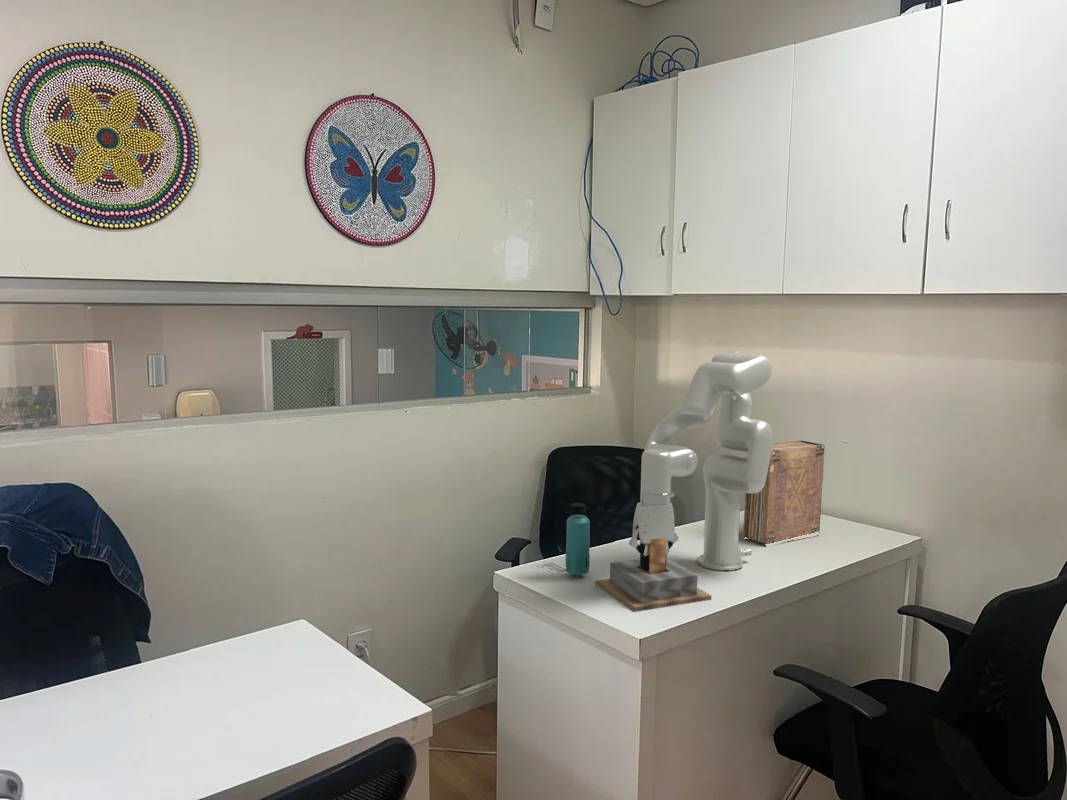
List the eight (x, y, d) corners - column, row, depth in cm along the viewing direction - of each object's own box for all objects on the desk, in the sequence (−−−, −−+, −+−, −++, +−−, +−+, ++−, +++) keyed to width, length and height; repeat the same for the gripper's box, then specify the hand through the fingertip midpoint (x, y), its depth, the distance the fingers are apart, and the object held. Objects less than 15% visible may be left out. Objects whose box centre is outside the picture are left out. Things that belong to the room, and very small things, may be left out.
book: (765, 547, 239) (769, 450, 235) (742, 539, 247) (746, 446, 243) (819, 535, 252) (825, 444, 249) (796, 528, 260) (801, 440, 256)
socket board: (667, 574, 213) (668, 552, 212) (711, 599, 194) (712, 576, 194) (595, 584, 204) (596, 561, 203) (634, 611, 186) (635, 587, 185)
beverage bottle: (587, 581, 206) (589, 507, 203) (563, 579, 207) (564, 506, 205) (590, 573, 212) (592, 501, 210) (566, 571, 213) (568, 500, 211)
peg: (655, 578, 202) (656, 533, 200) (664, 583, 198) (666, 538, 196) (640, 580, 200) (642, 535, 199) (649, 586, 196) (651, 539, 195)
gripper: (675, 492, 203) (672, 560, 205) (618, 497, 196) (617, 567, 199) (691, 498, 196) (689, 569, 198) (634, 504, 190) (631, 577, 192)
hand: (653, 567), depth 198 cm, fingers closed on peg, 4 cm apart
